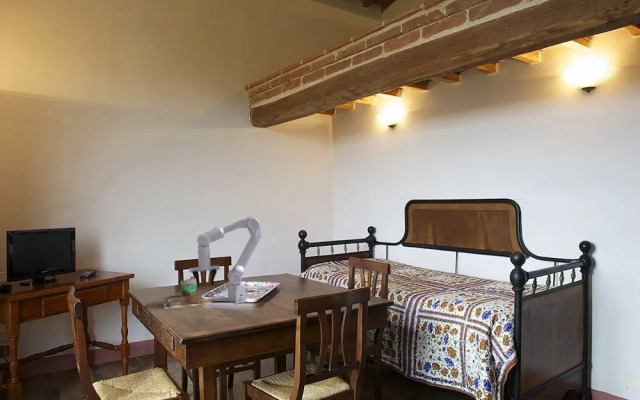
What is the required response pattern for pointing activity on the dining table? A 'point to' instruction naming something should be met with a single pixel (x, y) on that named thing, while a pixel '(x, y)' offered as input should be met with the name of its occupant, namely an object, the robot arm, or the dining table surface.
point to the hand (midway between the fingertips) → (205, 285)
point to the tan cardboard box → (189, 300)
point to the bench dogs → (167, 302)
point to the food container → (188, 287)
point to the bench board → (177, 305)
